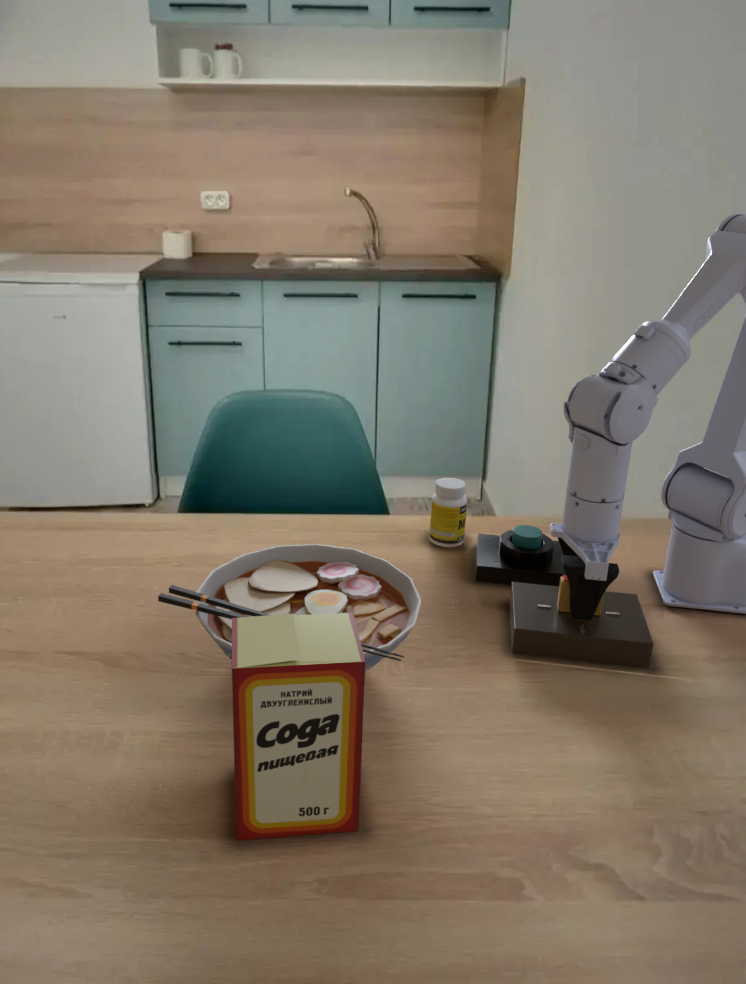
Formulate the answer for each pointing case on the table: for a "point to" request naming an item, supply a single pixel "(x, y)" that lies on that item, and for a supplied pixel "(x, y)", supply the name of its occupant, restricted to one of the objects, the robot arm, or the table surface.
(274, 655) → the baking soda box
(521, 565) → the block
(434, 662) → the table surface
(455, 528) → the supplement bottle
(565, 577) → the lock knob
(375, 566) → the ramen bowl
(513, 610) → the lock plate
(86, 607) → the table surface
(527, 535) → the bell button
